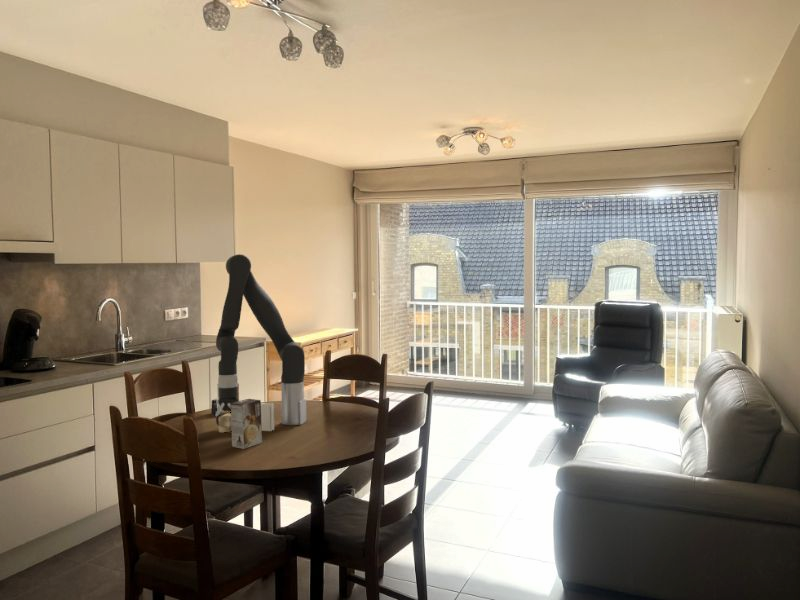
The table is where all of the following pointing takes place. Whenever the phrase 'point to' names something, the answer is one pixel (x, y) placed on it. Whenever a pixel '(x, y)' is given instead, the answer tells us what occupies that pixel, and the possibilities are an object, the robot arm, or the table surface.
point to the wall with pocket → (267, 416)
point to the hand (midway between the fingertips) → (229, 425)
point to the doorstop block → (225, 423)
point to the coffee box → (246, 423)
